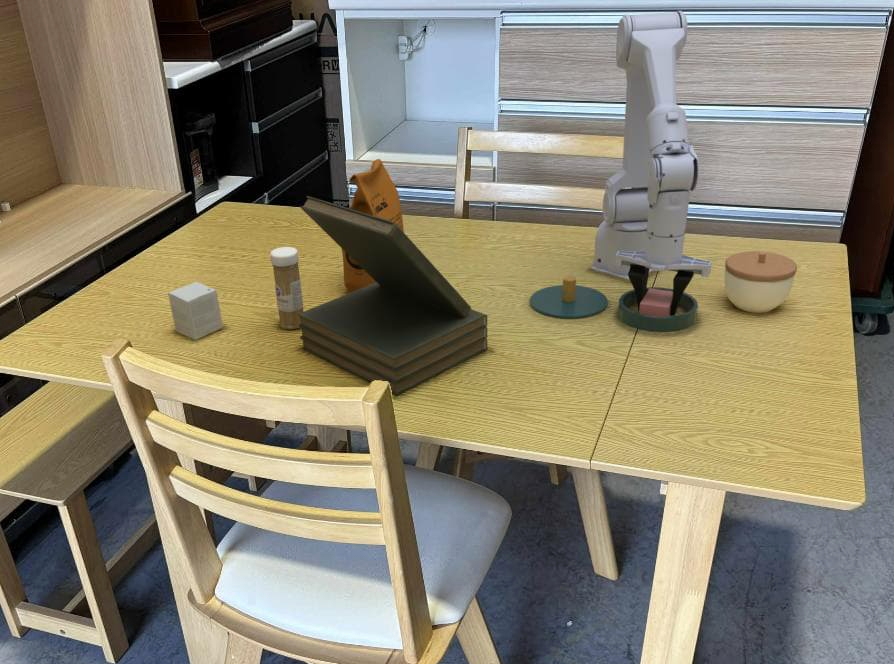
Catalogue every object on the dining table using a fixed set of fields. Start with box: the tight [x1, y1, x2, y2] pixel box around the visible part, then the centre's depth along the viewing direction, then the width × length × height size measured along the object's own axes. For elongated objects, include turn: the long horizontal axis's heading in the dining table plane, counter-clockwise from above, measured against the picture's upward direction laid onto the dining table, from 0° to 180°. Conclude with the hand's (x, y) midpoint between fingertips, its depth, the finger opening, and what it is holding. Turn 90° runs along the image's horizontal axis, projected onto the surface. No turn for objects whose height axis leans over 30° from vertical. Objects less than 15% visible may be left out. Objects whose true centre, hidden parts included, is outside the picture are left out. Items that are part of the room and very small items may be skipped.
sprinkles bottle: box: [270, 246, 304, 330], centre depth 146 cm, size 5×5×14 cm
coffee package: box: [341, 158, 405, 293], centre depth 157 cm, size 10×12×22 cm
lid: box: [529, 275, 608, 320], centre depth 148 cm, size 13×13×5 cm
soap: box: [638, 288, 673, 317], centre depth 142 cm, size 4×6×3 cm
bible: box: [298, 195, 488, 397], centre depth 133 cm, size 23×20×25 cm
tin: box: [617, 286, 699, 333], centre depth 142 cm, size 12×12×3 cm
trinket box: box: [723, 250, 798, 314], centre depth 142 cm, size 11×11×9 cm
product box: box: [167, 281, 224, 341], centre depth 148 cm, size 6×6×7 cm
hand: (657, 310), depth 142 cm, fingers closed on soap, 4 cm apart
